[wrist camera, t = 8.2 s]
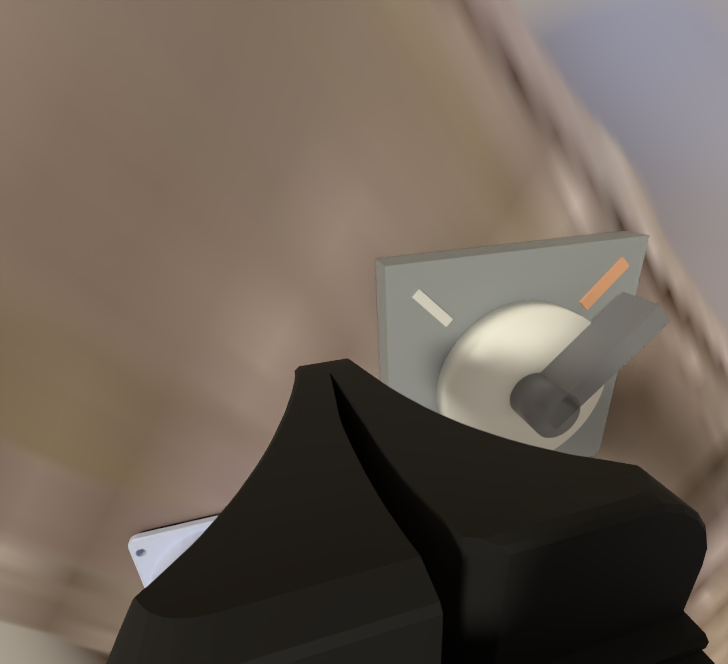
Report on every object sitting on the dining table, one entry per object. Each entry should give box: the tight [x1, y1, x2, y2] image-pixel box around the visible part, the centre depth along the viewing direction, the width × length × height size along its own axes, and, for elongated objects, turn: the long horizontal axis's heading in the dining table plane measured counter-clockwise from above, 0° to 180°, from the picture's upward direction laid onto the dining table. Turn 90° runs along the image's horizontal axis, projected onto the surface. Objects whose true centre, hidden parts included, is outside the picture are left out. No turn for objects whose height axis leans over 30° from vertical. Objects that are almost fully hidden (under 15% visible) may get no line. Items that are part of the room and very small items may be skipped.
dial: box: [436, 292, 670, 450], centre depth 20 cm, size 11×9×4 cm
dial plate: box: [376, 231, 649, 457], centre depth 23 cm, size 14×14×2 cm
